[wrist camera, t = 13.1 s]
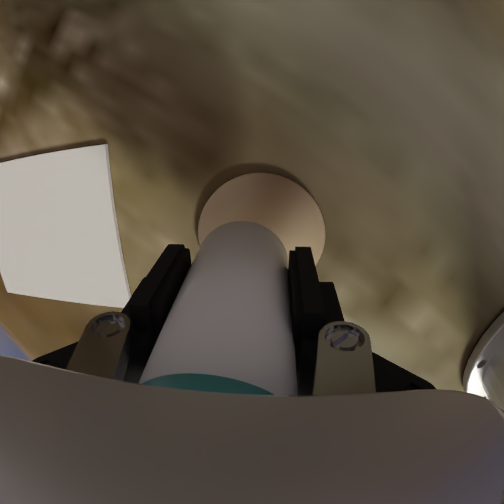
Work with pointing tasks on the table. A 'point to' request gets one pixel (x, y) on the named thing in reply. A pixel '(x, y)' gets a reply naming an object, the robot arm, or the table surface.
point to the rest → (267, 210)
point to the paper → (62, 228)
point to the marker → (230, 319)
